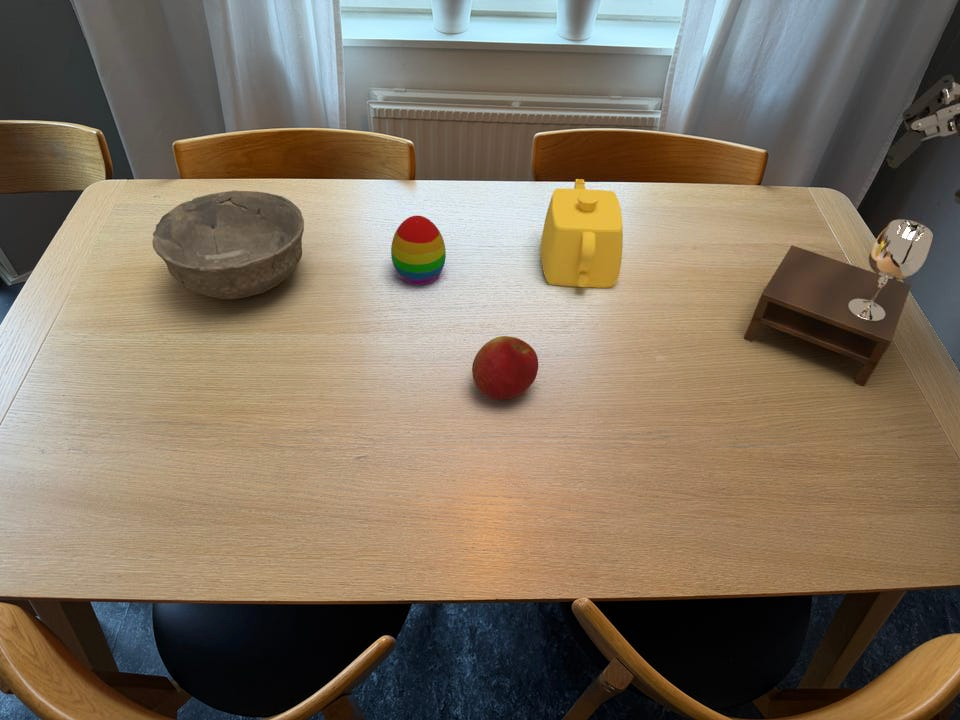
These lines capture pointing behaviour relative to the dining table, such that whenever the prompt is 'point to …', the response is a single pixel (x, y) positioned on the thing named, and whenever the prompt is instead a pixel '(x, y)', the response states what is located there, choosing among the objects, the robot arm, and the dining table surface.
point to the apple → (505, 367)
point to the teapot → (582, 238)
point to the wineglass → (894, 261)
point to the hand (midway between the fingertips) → (922, 181)
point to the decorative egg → (418, 250)
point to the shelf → (830, 307)
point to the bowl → (231, 242)
